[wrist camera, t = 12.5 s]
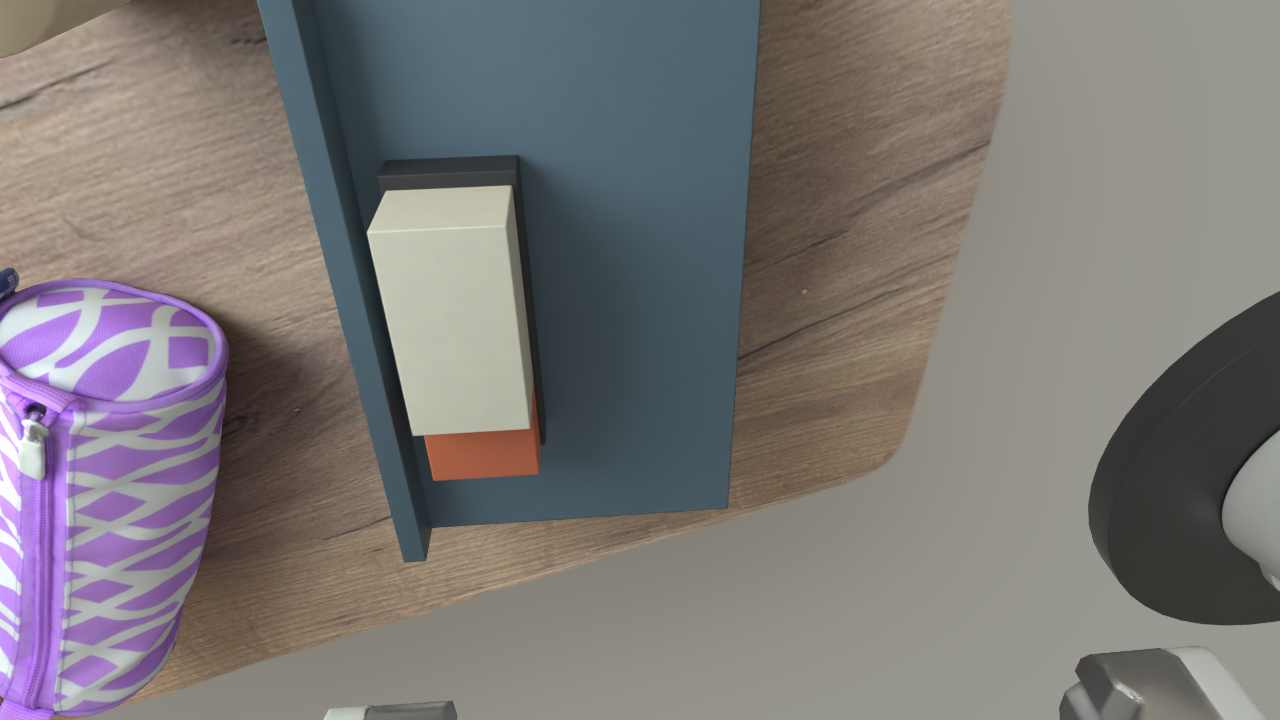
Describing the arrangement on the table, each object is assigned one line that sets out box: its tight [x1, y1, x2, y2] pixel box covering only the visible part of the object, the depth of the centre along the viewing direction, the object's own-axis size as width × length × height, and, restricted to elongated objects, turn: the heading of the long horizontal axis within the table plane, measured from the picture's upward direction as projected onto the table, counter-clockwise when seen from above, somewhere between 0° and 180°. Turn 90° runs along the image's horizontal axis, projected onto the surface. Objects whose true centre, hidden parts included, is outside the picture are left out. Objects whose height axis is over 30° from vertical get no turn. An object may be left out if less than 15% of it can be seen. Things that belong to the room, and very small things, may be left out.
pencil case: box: [0, 268, 229, 720], centre depth 38 cm, size 22×9×10 cm, turn 159°
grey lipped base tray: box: [257, 0, 761, 562], centre depth 33 cm, size 15×24×8 cm, turn 1°
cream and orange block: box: [367, 155, 546, 481], centre depth 30 cm, size 12×5×5 cm, turn 1°
